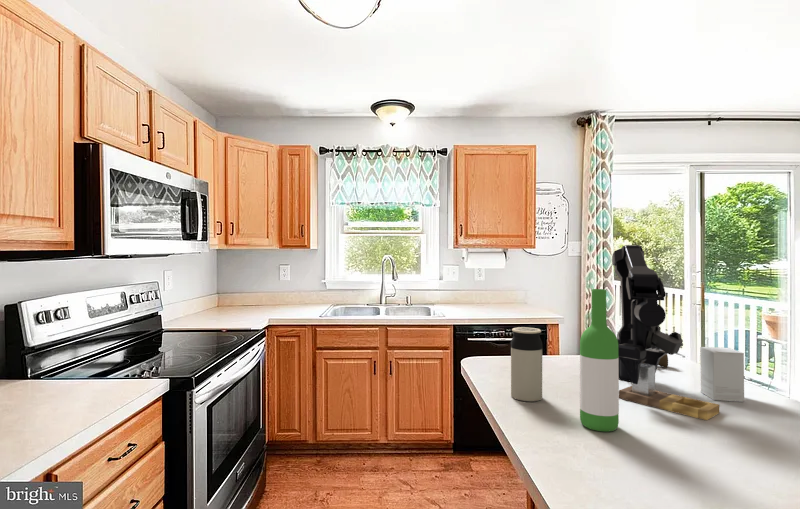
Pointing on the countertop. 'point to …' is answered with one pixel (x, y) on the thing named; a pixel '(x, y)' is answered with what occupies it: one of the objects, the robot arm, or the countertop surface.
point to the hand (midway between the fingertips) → (643, 380)
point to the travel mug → (526, 364)
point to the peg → (645, 380)
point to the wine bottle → (599, 370)
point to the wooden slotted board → (673, 403)
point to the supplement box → (722, 373)
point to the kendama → (663, 361)
